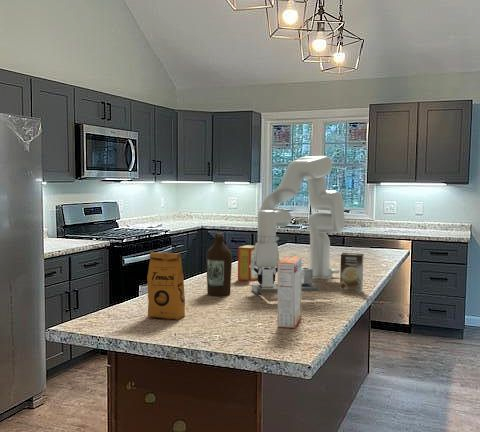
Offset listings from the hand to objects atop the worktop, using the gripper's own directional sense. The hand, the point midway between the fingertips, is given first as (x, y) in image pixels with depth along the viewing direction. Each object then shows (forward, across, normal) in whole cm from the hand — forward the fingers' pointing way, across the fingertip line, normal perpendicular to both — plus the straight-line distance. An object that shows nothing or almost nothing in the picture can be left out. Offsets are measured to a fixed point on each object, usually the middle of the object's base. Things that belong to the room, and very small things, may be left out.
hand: (266, 283), depth 221 cm
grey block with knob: (+2, 0, 0) cm, 2 cm away
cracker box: (+4, +4, +48) cm, 48 cm away
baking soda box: (+4, +1, -30) cm, 30 cm away
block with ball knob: (+4, -20, -9) cm, 22 cm away
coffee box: (+4, -36, +4) cm, 36 cm away
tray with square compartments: (+4, -8, 0) cm, 9 cm away
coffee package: (+4, +43, +34) cm, 55 cm away
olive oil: (+4, +20, 0) cm, 21 cm away
